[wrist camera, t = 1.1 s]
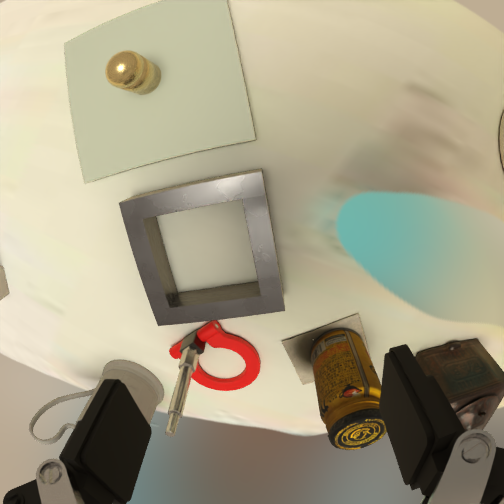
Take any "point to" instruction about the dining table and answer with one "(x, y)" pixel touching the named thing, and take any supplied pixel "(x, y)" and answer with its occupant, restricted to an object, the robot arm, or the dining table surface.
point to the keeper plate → (166, 94)
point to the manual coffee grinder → (466, 380)
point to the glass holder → (131, 374)
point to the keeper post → (132, 72)
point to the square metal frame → (213, 299)
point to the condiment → (341, 381)
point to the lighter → (3, 284)
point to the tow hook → (190, 368)
